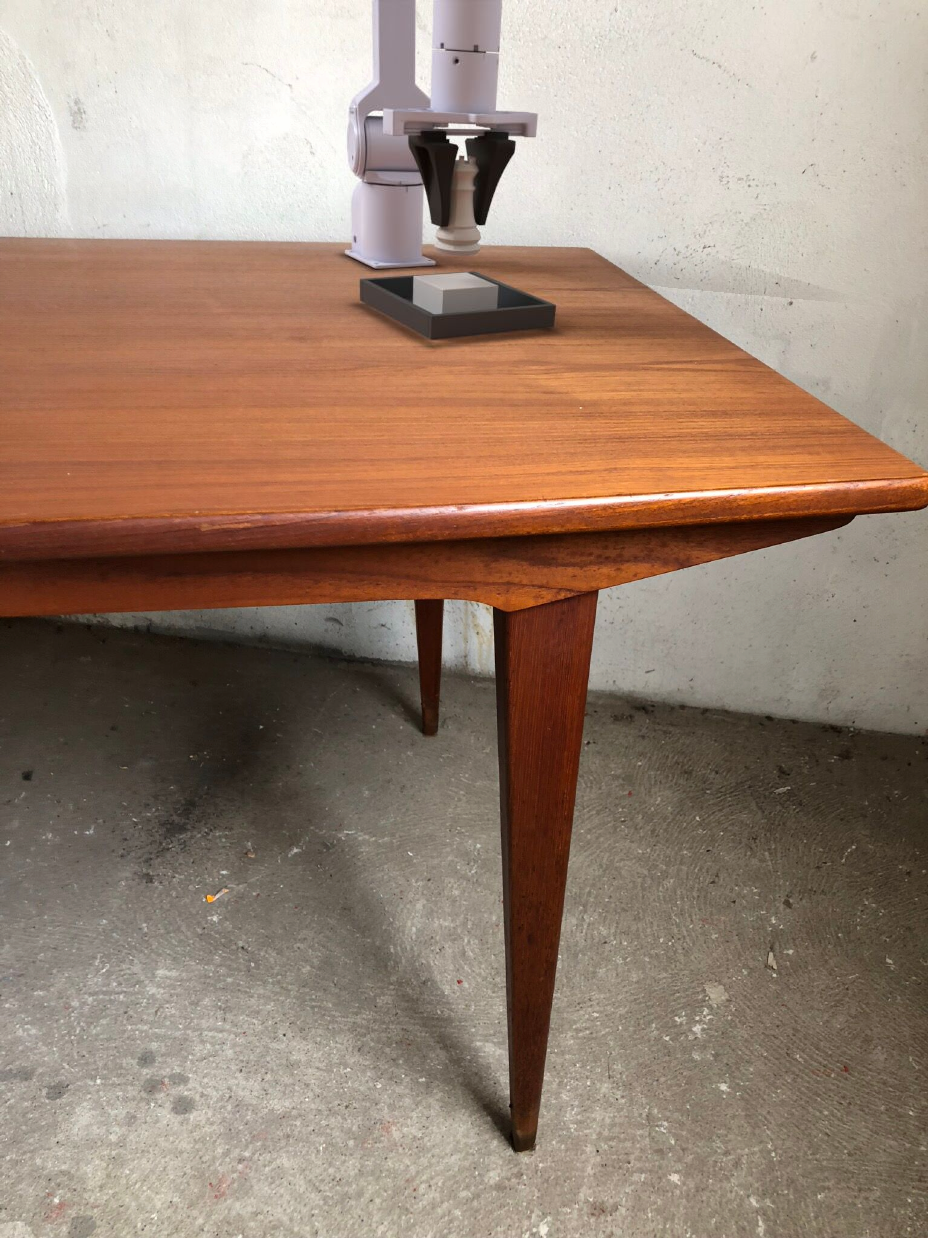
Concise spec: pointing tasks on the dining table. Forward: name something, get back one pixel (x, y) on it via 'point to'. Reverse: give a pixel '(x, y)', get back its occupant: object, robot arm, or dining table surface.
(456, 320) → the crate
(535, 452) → the dining table surface
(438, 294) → the grey block
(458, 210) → the rook chess piece
